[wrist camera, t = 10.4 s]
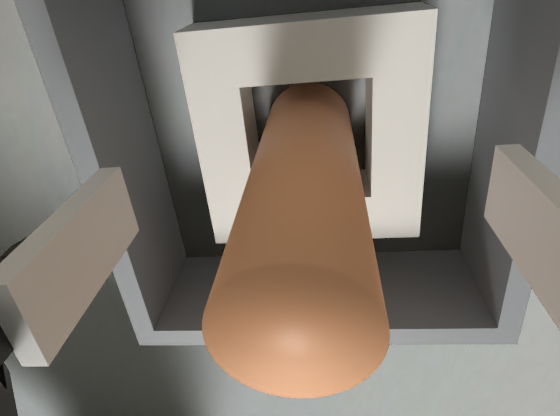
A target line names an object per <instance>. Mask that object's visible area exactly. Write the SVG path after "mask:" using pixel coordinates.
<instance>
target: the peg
mask: <svg viewBox="0 0 560 416" xmlns="http://www.w3.org/2000/svg"><path fill="white" fill-rule="evenodd" d="M202 334H203V339H204V342H205V345H206V347H207V349H208V351H209V353H210V355H211V356H212V358H213V359H214V360H215V362H216V363H217V364H218V365H219V366H220V367H221V368H222V369H223V370H224V371H225V372H226V373H227V374H229V375H230V376H231V377H233V378H234V379H236V380H237V381H239V382H241V383H242V384H244V385H246V386H248V387H250V388H253V389H255V390H258V391H261V392H264V393H267V394H271V395H276V396H281V397H288V398H316V397H324V396H328V395H333V394H336V393H339V392H343V391H345V390H347V389H350V388H352V387H354V386H356V385H358V384H359V383H361V382H363V381H364V380H365V379H367V378H368V377H369V376H370V375H371V374H372V373H373V372H374V371H375V370H376V369H377V368H378V367H379V365H380V364H381V363H382V361H383V359H384V357H385V356H386V353H387V350H388V347H389V341H390V328H389V323H388V318H387V312H386V307H385V302H384V296H383V291H382V286H381V281H380V275H379V270H378V265H377V259H376V254H375V249H374V243H373V238H372V233H371V228H370V222H369V217H368V212H367V206H366V201H365V196H364V190H363V185H362V180H361V175H360V169H359V164H358V159H357V153H356V148H355V143H354V138H353V132H352V127H351V122H350V116H349V112H348V108H347V106H346V104H345V102H344V100H343V99H342V97H341V96H340V95H339V94H338V93H337V92H336V91H335V90H333V89H332V88H330V87H329V86H326V85H324V84H321V83H317V82H309V83H298V84H295V85H293V86H290V87H289V88H287V89H285V90H284V91H283V92H282V93H281V94H280V95H279V96H278V97H277V98H276V100H275V101H274V103H273V105H272V107H271V110H270V113H269V116H268V119H267V122H266V125H265V128H264V131H263V134H262V137H261V140H260V143H259V146H258V149H257V152H256V155H255V158H254V161H253V164H252V168H251V171H250V174H249V177H248V180H247V183H246V186H245V189H244V192H243V195H242V198H241V201H240V204H239V207H238V210H237V213H236V216H235V219H234V222H233V225H232V228H231V231H230V234H229V237H228V240H227V243H226V246H225V249H224V252H223V255H222V258H221V261H220V265H219V268H218V271H217V274H216V277H215V280H214V283H213V286H212V289H211V292H210V295H209V298H208V301H207V304H206V307H205V310H204V313H203V318H202Z"/></svg>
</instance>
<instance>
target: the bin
mask: <svg viewBox="0 0 560 416" xmlns="http://www.w3.org/2000/svg"><path fill="white" fill-rule="evenodd" d="M14 2H15V5H16V8H17V10H18V13H19V16H20V19H21V21H22V24H23V27H24V30H25V32H26V35H27V38H28V41H29V43H30V46H31V49H32V52H33V54H34V57H35V60H36V63H37V65H38V68H39V71H40V74H41V76H42V79H43V82H44V85H45V87H46V90H47V93H48V96H49V98H50V101H51V104H52V107H53V109H54V112H55V115H56V118H57V120H58V123H59V126H60V129H61V131H62V134H63V137H64V140H65V142H66V145H67V148H68V151H69V153H70V156H71V159H72V162H73V164H74V167H75V170H76V172H77V175H78V178H79V181H80V183H81V186H82V185H83V184H84V183H85V182H86V181H87V180H88V179H89V178H90V177H91V176H93V175H94V174H95V173H96V172H97V171H98V170H99V169H100V168H110V167H120V168H121V171H122V175H123V178H124V181H125V185H126V188H127V191H128V195H129V198H130V201H131V205H132V208H133V211H134V214H135V218H136V221H137V224H138V228H139V231H138V233H137V234H136V236H135V237H134V239H133V240H132V242H131V243H130V245H129V246H128V248H127V249H126V251H125V253H124V254H123V256H122V257H121V259H120V260H119V262H118V263H117V265H116V266H115V268H114V269H113V274H114V277H115V280H116V282H117V285H118V288H119V291H120V293H121V296H122V299H123V302H124V304H125V307H126V310H127V313H128V315H129V318H130V321H131V324H132V326H133V329H134V332H135V335H136V337H137V340H138V343H139V345H205V342H204V339H203V334H202V318H203V313H204V310H205V307H206V304H207V301H208V298H209V295H210V292H211V289H212V286H213V283H214V280H215V277H216V274H217V271H218V268H219V265H220V261H221V258H222V256H214V257H186V253H185V249H184V245H183V241H182V237H181V233H180V229H179V225H178V221H177V217H176V213H175V209H174V205H173V201H172V197H171V193H170V189H169V185H168V181H167V177H166V173H165V169H164V165H163V161H162V157H161V153H160V149H159V145H158V141H157V137H156V133H155V129H154V125H153V121H152V117H151V113H150V109H149V105H148V101H147V97H146V93H145V89H144V85H143V81H142V77H141V73H140V69H139V65H138V61H137V57H136V53H135V49H134V45H133V41H132V37H131V33H130V29H129V25H128V21H127V17H126V13H125V9H124V5H123V1H122V0H14ZM437 15H438V8H435V7H433V6H430V5H428V4H426V3H423V2H412V3H401V4H391V5H380V6H369V7H359V8H348V9H337V10H327V11H316V12H306V13H295V14H284V15H274V16H263V17H253V18H242V19H231V20H221V21H210V22H199V23H192V24H190V25H188V26H186V27H184V28H182V29H180V30H178V31H176V32H174V33H173V35H174V40H175V45H176V49H177V54H178V59H179V64H180V69H181V74H182V79H183V84H184V89H185V94H186V98H187V103H188V108H189V113H190V118H191V123H192V128H193V133H194V138H195V143H196V148H197V152H198V157H199V162H200V167H201V172H202V177H203V182H204V187H205V192H206V197H207V202H208V206H209V211H210V216H211V221H212V226H213V231H214V236H215V241H216V243H227V240H228V237H229V234H230V231H231V228H232V225H233V222H234V219H235V216H236V213H237V210H238V207H239V204H240V201H241V198H242V195H243V192H244V189H245V186H246V183H247V180H248V177H249V174H250V171H251V168H252V164H253V161H254V158H255V155H256V152H257V149H258V146H259V142H258V135H257V127H256V119H255V111H254V103H253V95H252V87H255V86H269V85H282V84H295V83H309V82H322V81H335V80H349V79H362V78H366V107H365V169H362V170H360V175H361V180H362V185H363V190H364V196H365V201H366V206H367V212H368V217H369V222H370V228H371V233H372V238H403V237H419V235H420V223H421V210H422V198H423V186H424V174H425V161H426V149H427V137H428V125H429V113H430V100H431V88H432V76H433V64H434V51H435V39H436V27H437ZM508 144H521V145H522V146H523V147H524V148H525V149H526V150H527V151H528V152H530V153H531V154H532V155H533V156H534V157H535V158H536V159H538V160H539V161H540V162H541V163H542V164H543V165H544V166H545V167H547V168H548V169H549V170H550V171H551V172H552V173H553V174H554V175H556V176H557V177H558V178H559V179H560V0H495V2H494V9H493V16H492V23H491V30H490V37H489V44H488V51H487V58H486V66H485V73H484V80H483V87H482V94H481V101H480V108H479V115H478V122H477V130H476V137H475V144H474V151H473V158H472V165H471V172H470V179H469V187H468V194H467V201H466V208H465V215H464V222H463V229H462V236H461V243H460V250H426V251H390V252H375V254H376V259H377V265H378V270H379V275H380V281H381V286H382V291H383V296H384V302H385V307H386V312H387V318H388V323H389V328H390V341H389V345H417V344H517V343H518V339H519V335H520V332H521V328H522V324H523V320H524V316H525V312H526V308H527V304H528V300H529V297H530V293H531V289H532V288H531V287H530V285H529V284H528V282H527V281H526V279H525V278H524V276H523V275H522V273H521V272H520V270H519V269H518V267H517V266H516V264H515V262H514V261H513V259H512V258H511V256H510V255H509V253H508V252H507V250H506V249H505V247H504V246H503V244H502V243H501V241H500V240H499V238H498V237H497V235H496V234H495V232H494V231H493V229H492V228H491V226H490V225H489V223H488V222H487V220H486V219H485V217H484V212H485V206H486V200H487V194H488V188H489V182H490V176H491V170H492V164H493V158H494V151H495V145H508Z"/></svg>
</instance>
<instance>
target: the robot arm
mask: <svg viewBox="0 0 560 416" xmlns="http://www.w3.org/2000/svg"><path fill="white" fill-rule="evenodd" d="M484 217H485V219H486V220H487V222H488V223H489V225H490V226H491V228H492V229H493V231H494V232H495V234H496V235H497V237H498V238H499V240H500V241H501V243H502V244H503V246H504V247H505V249H506V250H507V252H508V253H509V255H510V256H511V258H512V259H513V261H514V262H515V264H516V266H517V267H518V269H519V270H520V272H521V273H522V275H523V276H524V278H525V279H526V281H527V282H528V284H529V285H530V287H531V288H532V290H533V291H534V293H535V294H536V296H537V297H538V299H539V300H540V302H541V303H542V305H543V306H544V308H545V309H546V311H547V312H548V314H549V315H550V317H551V318H552V320H553V321H554V323H555V324H556V326H557V327H558V329H559V330H560V179H559V178H558V177H557V176H556V175H554V174H553V173H552V172H551V171H550V170H549V169H548V168H547V167H545V166H544V165H543V164H542V163H541V162H540V161H539V160H538V159H536V158H535V157H534V156H533V155H532V154H531V153H530V152H528V151H527V150H526V149H525V148H524V147H523V146H522V145H521V144H508V145H495V151H494V158H493V164H492V170H491V176H490V182H489V188H488V194H487V200H486V206H485V212H484ZM138 231H139V228H138V224H137V221H136V218H135V214H134V211H133V208H132V205H131V201H130V198H129V195H128V191H127V188H126V185H125V181H124V178H123V175H122V171H121V168H120V167H110V168H100V169H99V170H98V171H97V172H96V173H95V174H94V175H93V176H91V177H90V178H89V179H88V180H87V181H86V182H85V183H84V184H83V185H82V186H81V187H80V188H79V189H78V190H77V191H76V192H75V193H74V194H72V195H71V196H70V197H69V198H68V199H67V200H66V201H65V202H64V203H63V204H62V205H61V206H60V207H59V208H58V209H57V210H56V211H55V212H53V213H52V214H51V215H50V216H49V217H48V218H47V219H46V220H45V221H44V222H43V223H42V224H41V225H40V226H39V227H38V228H37V229H36V230H34V231H33V232H32V233H31V234H30V235H29V236H28V237H26V238H24V239H23V240H21V241H19V242H18V243H16V244H14V245H13V246H11V247H10V248H9V249H8V250H7V251H6V252H5V253H4V254H3V255H2V256H1V257H0V416H18V414H17V409H16V404H15V398H14V393H13V388H12V383H11V378H10V373H9V370H8V369H7V367H6V365H5V364H4V361H5V360H6V359H7V358H8V356H9V355H10V354H11V352H12V351H13V352H14V353H15V355H16V357H17V359H18V360H19V362H20V364H21V366H22V367H37V366H50V364H51V363H52V361H53V360H54V358H55V356H56V355H57V353H58V352H59V350H60V349H61V347H62V346H63V344H64V343H65V341H66V340H67V338H68V337H69V335H70V334H71V332H72V331H73V329H74V328H75V326H76V325H77V323H78V322H79V320H80V319H81V317H82V316H83V314H84V313H85V311H86V310H87V308H88V307H89V305H90V304H91V302H92V301H93V299H94V298H95V296H96V295H97V293H98V292H99V290H100V289H101V287H102V286H103V284H104V283H105V281H106V280H107V278H108V277H109V275H110V274H111V272H112V271H113V269H114V268H115V266H116V265H117V263H118V262H119V260H120V259H121V257H122V256H123V254H124V253H125V251H126V249H127V248H128V246H129V245H130V243H131V242H132V240H133V239H134V237H135V236H136V234H137V233H138Z"/></svg>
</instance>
